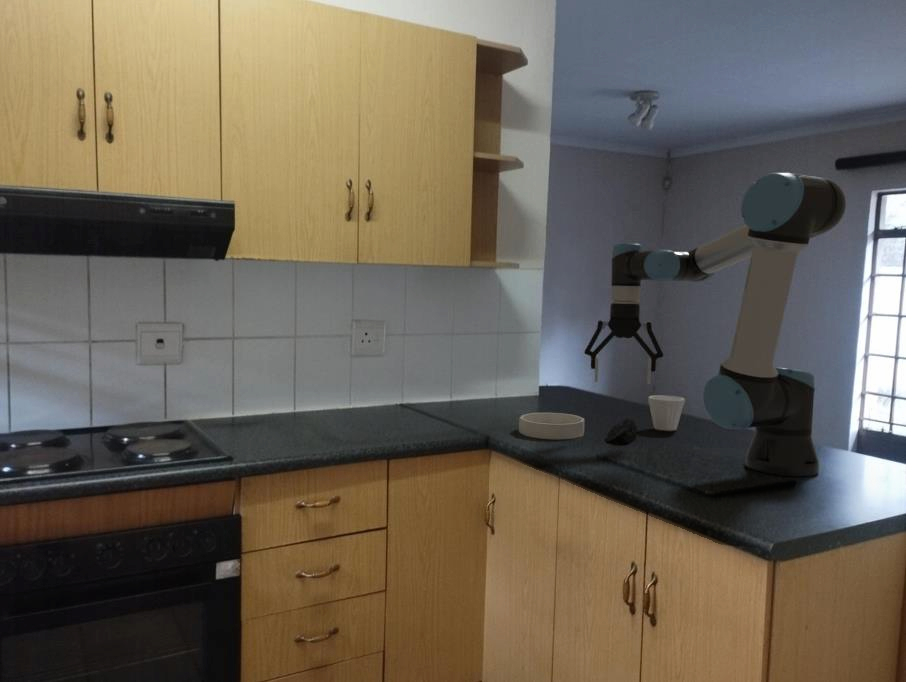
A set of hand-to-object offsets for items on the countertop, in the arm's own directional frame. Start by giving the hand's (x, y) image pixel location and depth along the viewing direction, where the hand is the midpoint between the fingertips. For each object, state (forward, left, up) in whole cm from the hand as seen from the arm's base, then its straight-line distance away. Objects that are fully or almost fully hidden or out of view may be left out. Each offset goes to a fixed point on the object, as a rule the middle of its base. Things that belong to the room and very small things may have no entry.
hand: (622, 382), depth 189 cm
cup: (+18, -12, -16) cm, 27 cm away
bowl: (+4, +19, -15) cm, 25 cm away
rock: (-1, -1, -16) cm, 16 cm away
